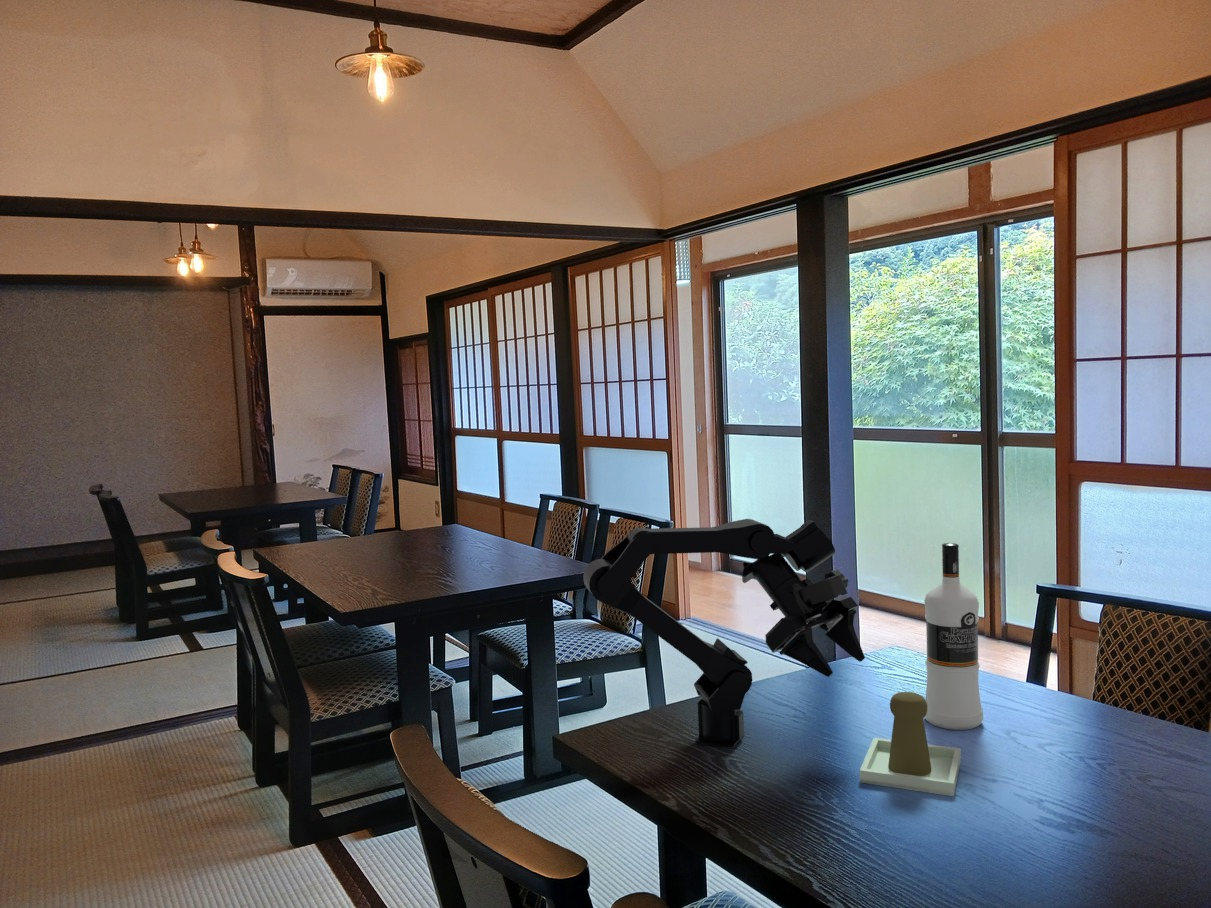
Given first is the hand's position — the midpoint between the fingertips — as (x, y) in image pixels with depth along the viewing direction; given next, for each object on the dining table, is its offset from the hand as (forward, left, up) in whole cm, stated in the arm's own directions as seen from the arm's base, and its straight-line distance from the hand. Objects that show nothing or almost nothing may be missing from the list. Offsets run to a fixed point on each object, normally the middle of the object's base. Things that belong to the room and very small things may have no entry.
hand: (847, 667), depth 138 cm
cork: (+9, -4, -13) cm, 17 cm away
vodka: (+14, +19, -14) cm, 27 cm away
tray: (+10, -3, -14) cm, 17 cm away
